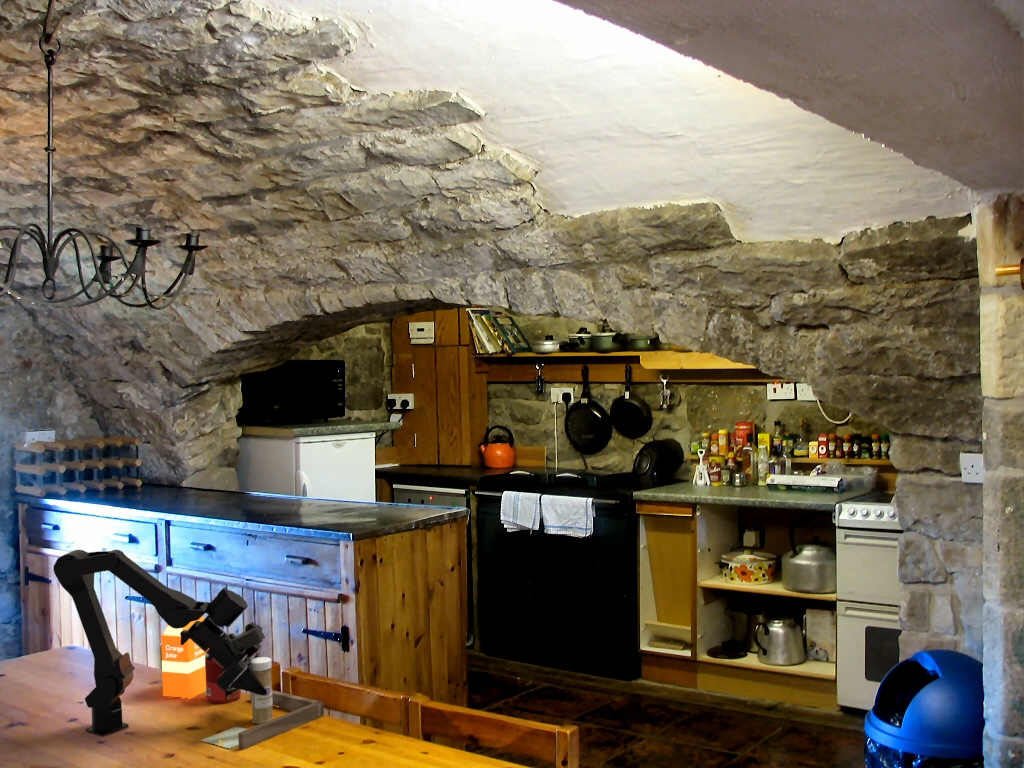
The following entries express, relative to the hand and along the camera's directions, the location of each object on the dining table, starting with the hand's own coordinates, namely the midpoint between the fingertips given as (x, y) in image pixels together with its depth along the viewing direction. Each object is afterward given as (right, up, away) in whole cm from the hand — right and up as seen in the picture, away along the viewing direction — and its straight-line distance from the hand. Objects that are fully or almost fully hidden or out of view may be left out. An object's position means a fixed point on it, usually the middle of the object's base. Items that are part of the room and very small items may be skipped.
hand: (268, 690), depth 207 cm
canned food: (-14, -7, +16) cm, 23 cm away
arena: (-4, -7, -1) cm, 8 cm away
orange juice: (-25, -8, +22) cm, 34 cm away
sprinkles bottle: (-1, -7, 0) cm, 7 cm away
